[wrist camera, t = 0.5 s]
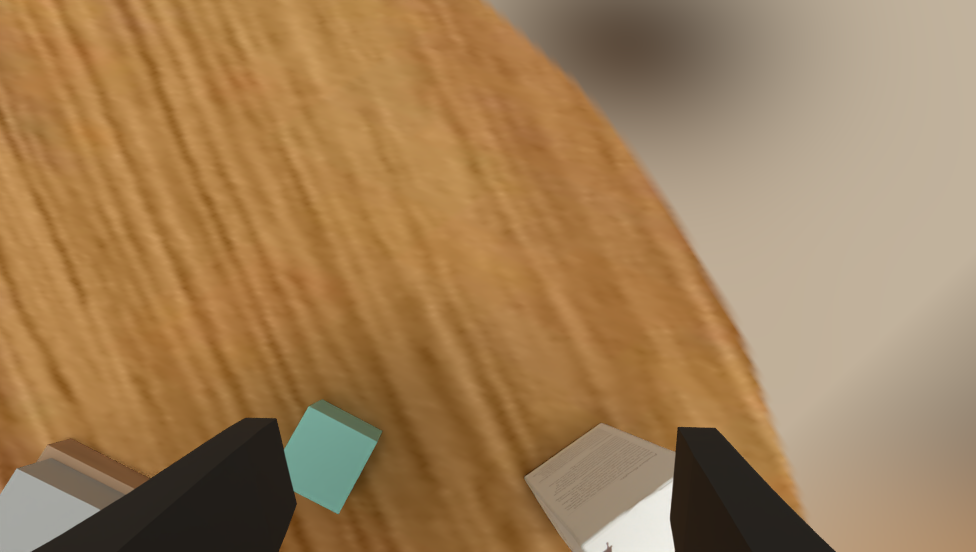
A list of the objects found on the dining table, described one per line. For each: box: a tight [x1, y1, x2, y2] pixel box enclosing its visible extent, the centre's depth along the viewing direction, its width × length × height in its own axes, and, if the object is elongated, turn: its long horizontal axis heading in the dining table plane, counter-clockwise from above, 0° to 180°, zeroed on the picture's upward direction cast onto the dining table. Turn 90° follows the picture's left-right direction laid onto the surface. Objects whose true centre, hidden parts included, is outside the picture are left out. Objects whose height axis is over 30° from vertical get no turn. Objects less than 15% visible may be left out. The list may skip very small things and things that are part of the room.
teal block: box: [284, 400, 382, 514], centre depth 31 cm, size 4×4×4 cm
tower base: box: [36, 439, 150, 495], centre depth 30 cm, size 8×8×2 cm
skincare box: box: [524, 423, 676, 552], centre depth 28 cm, size 6×4×12 cm
